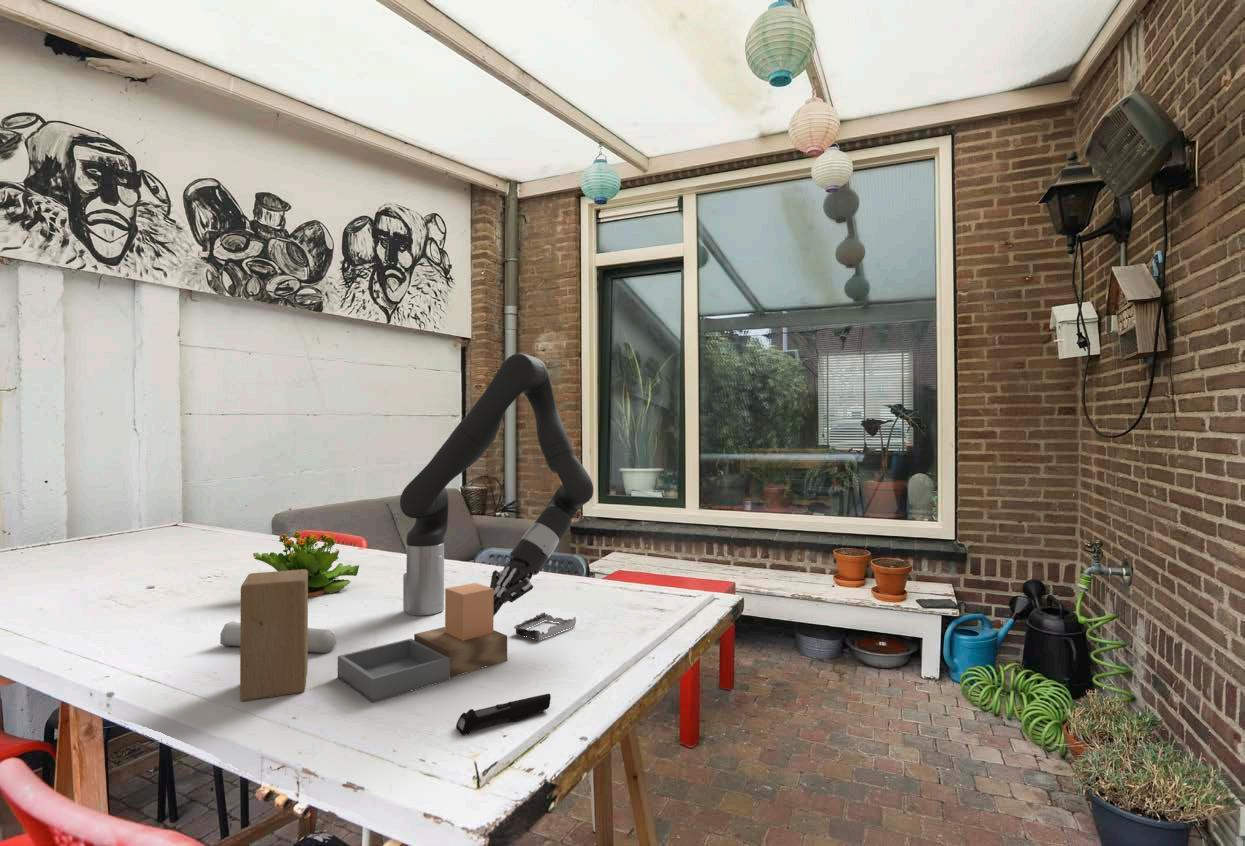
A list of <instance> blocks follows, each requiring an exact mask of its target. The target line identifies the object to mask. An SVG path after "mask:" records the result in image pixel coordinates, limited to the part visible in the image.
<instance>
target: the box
mask: <svg viewBox="0 0 1245 846" xmlns="http://www.w3.org/2000/svg"><path fill="white" fill-rule="evenodd" d="M337 679H340V681H342V682H344V684H346V685H347V686H349V687H350V688H351V689H353V690H354V691H356V692H357V693H359V694H360V695H361V696H362V697H364V698H365V699H366V700H368V701H369V702H370V703H372V704H373V703H376V702H379V701H383V700H386V698H387V699H389V697H390V698H393V697H397V696H400V695H403V694H406V692H407V693H409V691H410V692H412V691H411V690H413V691H415V689H417V690H419V688H420V689H423V688H427V687H429V686H428V685H430V686H433V685H436V684H439V682H440V683H443V682H445V681H450V680H449V679H451V677H450V658H449V657H447V656H445V655H443V654H441V653H439V652H437V651H435V650H433V649H431V648H429V647H427V646H425V645H423V644H421V643H419V642H417V641H415V640H414V638H407V639H403V640H399V641H394V642H391V643H386V644H382V645H377V646H373V647H369V648H365V649H360V650H357V651H352V652H348V653H344V654H339V655H337ZM442 681H443V682H442ZM435 683H436V684H435ZM432 684H433V685H432ZM426 686H427V687H426ZM422 687H423V688H422ZM402 693H403V694H402ZM399 694H400V695H399ZM396 695H397V696H396Z"/></svg>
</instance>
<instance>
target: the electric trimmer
mask: <svg viewBox="0 0 1245 846" xmlns="http://www.w3.org/2000/svg"><path fill="white" fill-rule="evenodd" d="M551 697H552V696H551V693H545V694H544V693H543V694H540V695H535V696H530V697H527V698H521V699H516V700H512V701H508V702H505V703H501V704H496V705H494V706H493V705H492V706H489V707H483V708H480V709H476V710H474V709H472V708H471V709H469V710H468V711H467V712H463V713H461V715H460V716H459V718H458V720H457V723H456V726H455V729H456V730H457V732H458V733H459V734H460V735H461V736H463V735H466V736H468V735H470V734H471V733H472V731H476V730H478V729H483V728H486V727H489V726H494V725H497V724H500V723H504V722H508V721H510V722H517V721H520V720H522V719H525V718H528V717H531V716H533V715H536V714H538V713H541V712H544V711H546V710H549V707H550V706H551V705H550V704H551V699H552V698H551Z"/></svg>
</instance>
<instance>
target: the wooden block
mask: <svg viewBox="0 0 1245 846" xmlns="http://www.w3.org/2000/svg"><path fill="white" fill-rule="evenodd" d="M308 605H309V598H308V571H307V570H306V569H301V570H289V571H277V570H276V571H266V572H265V571H264V572H255V573H254V572H253V573H249V574H248V575H247V576H246V578H245V579H244V581H242V584H241V586H240V621H239V623H240V647H239V648H240V651H239V653H240V654H239V655H240V656H239V657H240V659H239V661H240V662H239V663H240V665H239V678H240V679H239V683H240V684H239V692H240V693H239V700H240V701H241V702H242V701H243V702H246V701H252V700H259V699H266V698H274V697H279V696H280V697H281V696H286V695H287V696H288V695H294V694H301V693H303V692H305V690H306V686H307V685H306V684H307V676H308V662H309V661H308V658H309V657H308V653H309V652H308V628H309V625H308V623H309V621H308V620H309V619H308V617H309V615H308V613H309V607H308Z"/></svg>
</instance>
